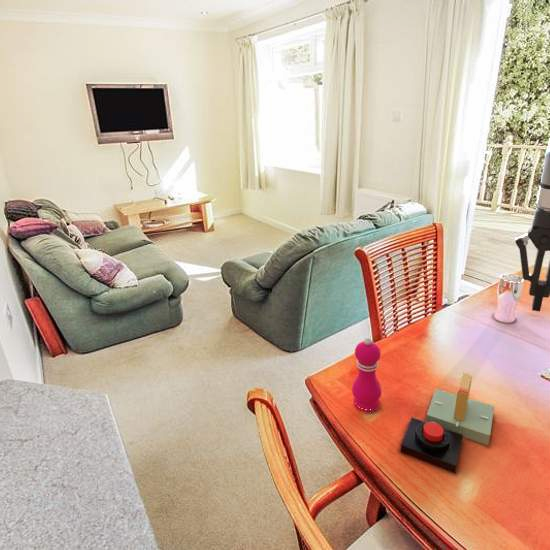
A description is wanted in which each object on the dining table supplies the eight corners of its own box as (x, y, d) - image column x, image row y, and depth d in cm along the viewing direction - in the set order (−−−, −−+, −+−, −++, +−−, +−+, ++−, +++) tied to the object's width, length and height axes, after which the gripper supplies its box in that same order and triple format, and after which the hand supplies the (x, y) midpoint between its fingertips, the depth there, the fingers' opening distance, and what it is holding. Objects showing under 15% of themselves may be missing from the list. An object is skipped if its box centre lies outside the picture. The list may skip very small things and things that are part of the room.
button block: (461, 441, 83) (464, 428, 81) (455, 473, 76) (457, 459, 75) (410, 424, 89) (412, 411, 87) (400, 452, 82) (401, 438, 80)
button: (444, 431, 81) (445, 425, 81) (440, 445, 78) (441, 439, 78) (425, 425, 84) (425, 419, 83) (421, 438, 80) (421, 432, 80)
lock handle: (458, 399, 91) (462, 371, 87) (467, 401, 90) (472, 374, 86) (453, 418, 85) (457, 390, 82) (463, 421, 84) (467, 393, 81)
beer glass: (491, 320, 126) (498, 280, 120) (493, 311, 131) (501, 272, 125) (515, 325, 122) (524, 284, 116) (517, 315, 127) (525, 275, 121)
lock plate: (492, 413, 90) (494, 403, 88) (487, 447, 81) (490, 437, 80) (435, 396, 96) (436, 386, 95) (425, 426, 88) (426, 415, 86)
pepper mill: (382, 415, 92) (385, 347, 84) (352, 413, 93) (352, 346, 85) (379, 394, 98) (382, 330, 90) (351, 393, 100) (352, 329, 92)
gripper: (520, 210, 77) (502, 310, 87) (601, 214, 71) (572, 321, 80) (520, 202, 83) (503, 296, 92) (595, 204, 76) (569, 306, 86)
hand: (535, 308), depth 86 cm, fingers closed
